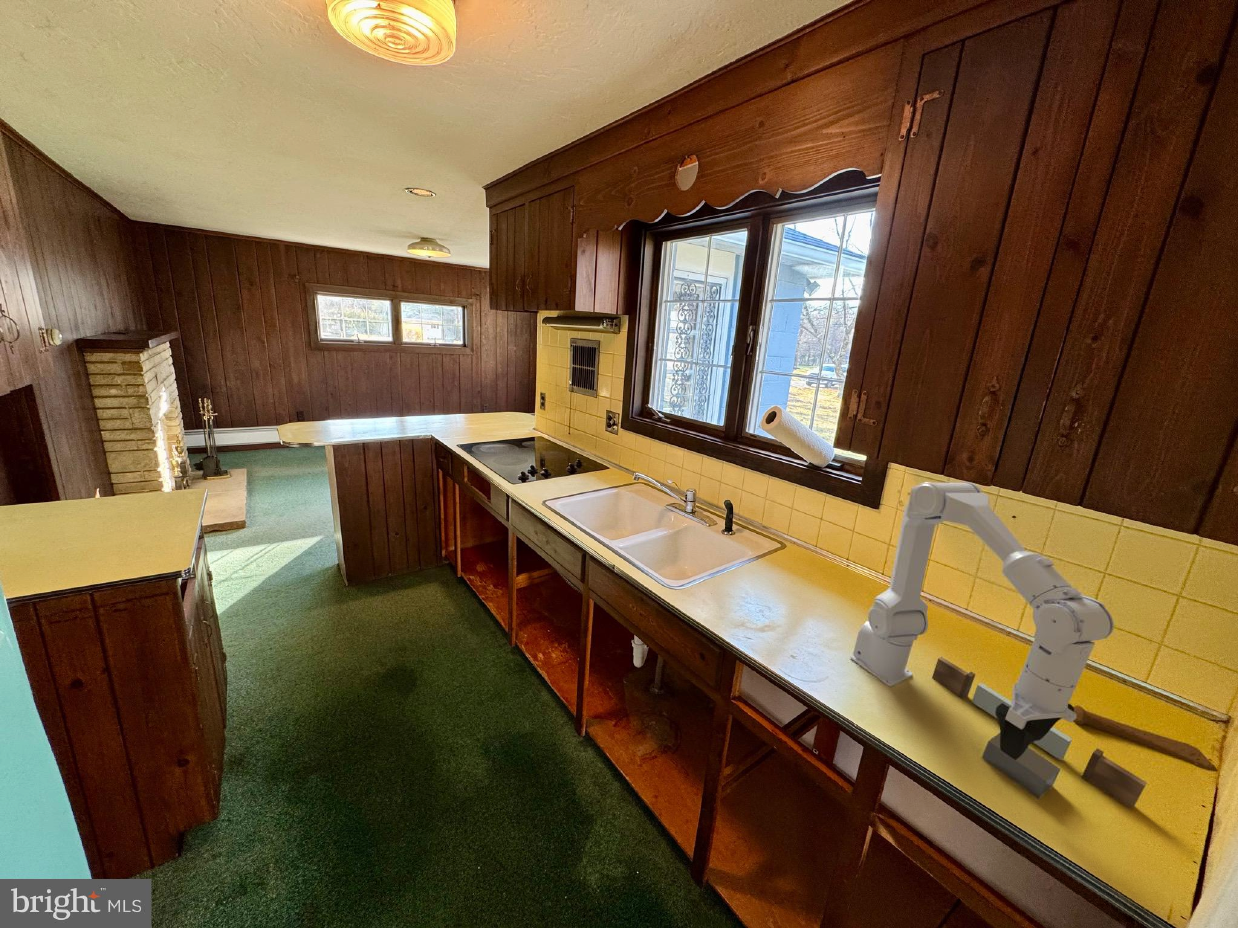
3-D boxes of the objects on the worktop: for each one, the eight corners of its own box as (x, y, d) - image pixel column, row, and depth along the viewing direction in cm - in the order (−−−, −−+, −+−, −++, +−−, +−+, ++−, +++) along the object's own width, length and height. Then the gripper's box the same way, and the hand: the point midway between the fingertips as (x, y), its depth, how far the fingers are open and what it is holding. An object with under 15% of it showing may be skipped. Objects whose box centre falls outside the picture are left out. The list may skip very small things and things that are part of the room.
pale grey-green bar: (971, 701, 91) (977, 684, 90) (976, 698, 92) (983, 681, 91) (1060, 760, 80) (1069, 741, 78) (1065, 755, 81) (1074, 737, 79)
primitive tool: (1195, 749, 85) (1204, 734, 83) (1219, 775, 80) (1229, 760, 79) (1064, 713, 91) (1071, 699, 90) (1078, 735, 86) (1085, 720, 85)
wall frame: (931, 677, 98) (938, 656, 96) (935, 675, 98) (942, 654, 97) (1130, 809, 72) (1144, 784, 71) (1135, 805, 73) (1149, 779, 71)
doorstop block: (981, 758, 80) (988, 740, 79) (996, 747, 82) (1003, 730, 81) (1038, 800, 73) (1046, 781, 72) (1052, 787, 75) (1060, 768, 74)
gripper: (1064, 709, 61) (1030, 786, 65) (1106, 675, 67) (1073, 746, 71) (1001, 673, 66) (974, 746, 71) (1046, 645, 73) (1019, 713, 77)
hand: (1020, 744), depth 71 cm, fingers open, 7 cm apart
